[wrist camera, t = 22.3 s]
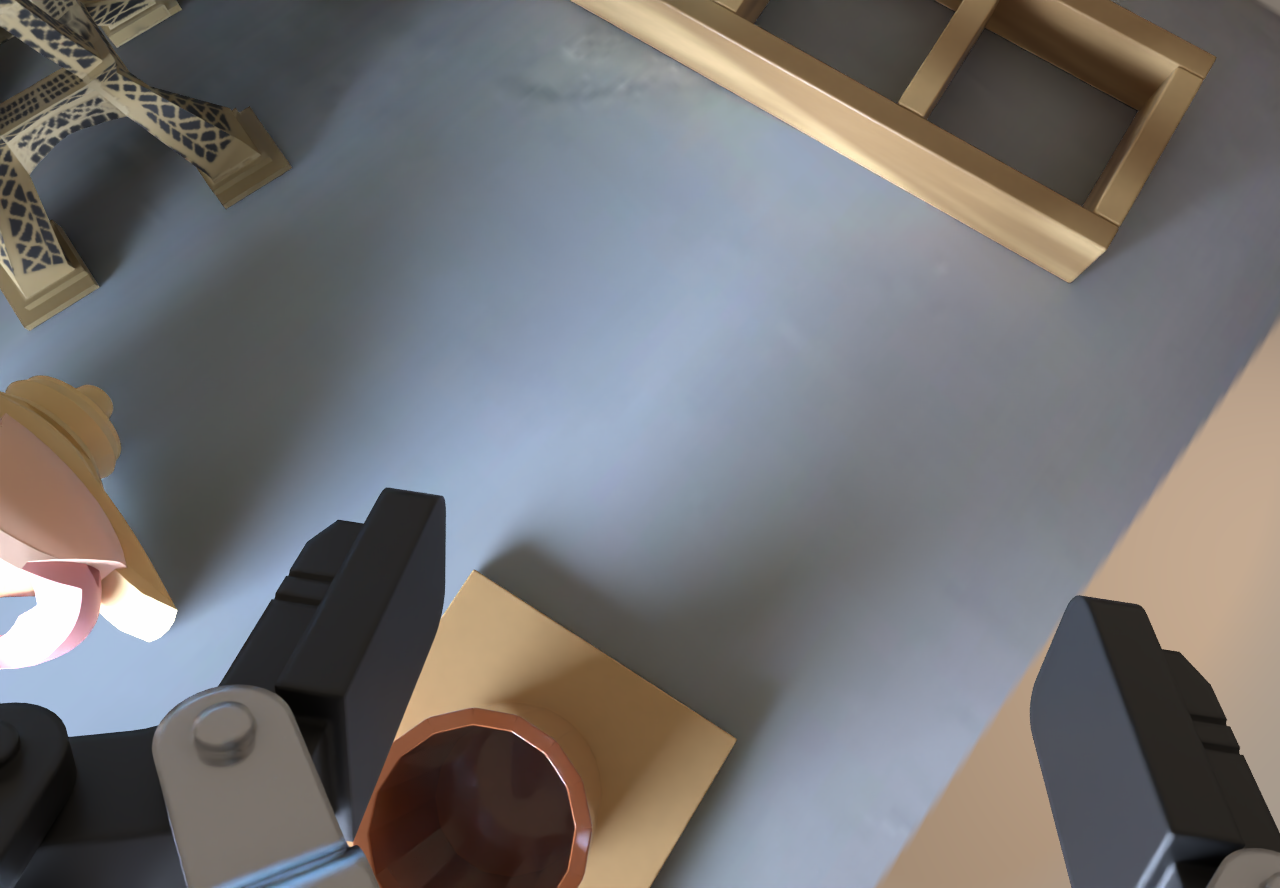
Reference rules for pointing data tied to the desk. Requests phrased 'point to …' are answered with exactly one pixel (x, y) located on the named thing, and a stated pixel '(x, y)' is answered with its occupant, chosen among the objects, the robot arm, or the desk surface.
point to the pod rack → (899, 132)
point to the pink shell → (67, 525)
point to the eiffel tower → (89, 95)
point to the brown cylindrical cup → (484, 802)
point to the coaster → (579, 721)
